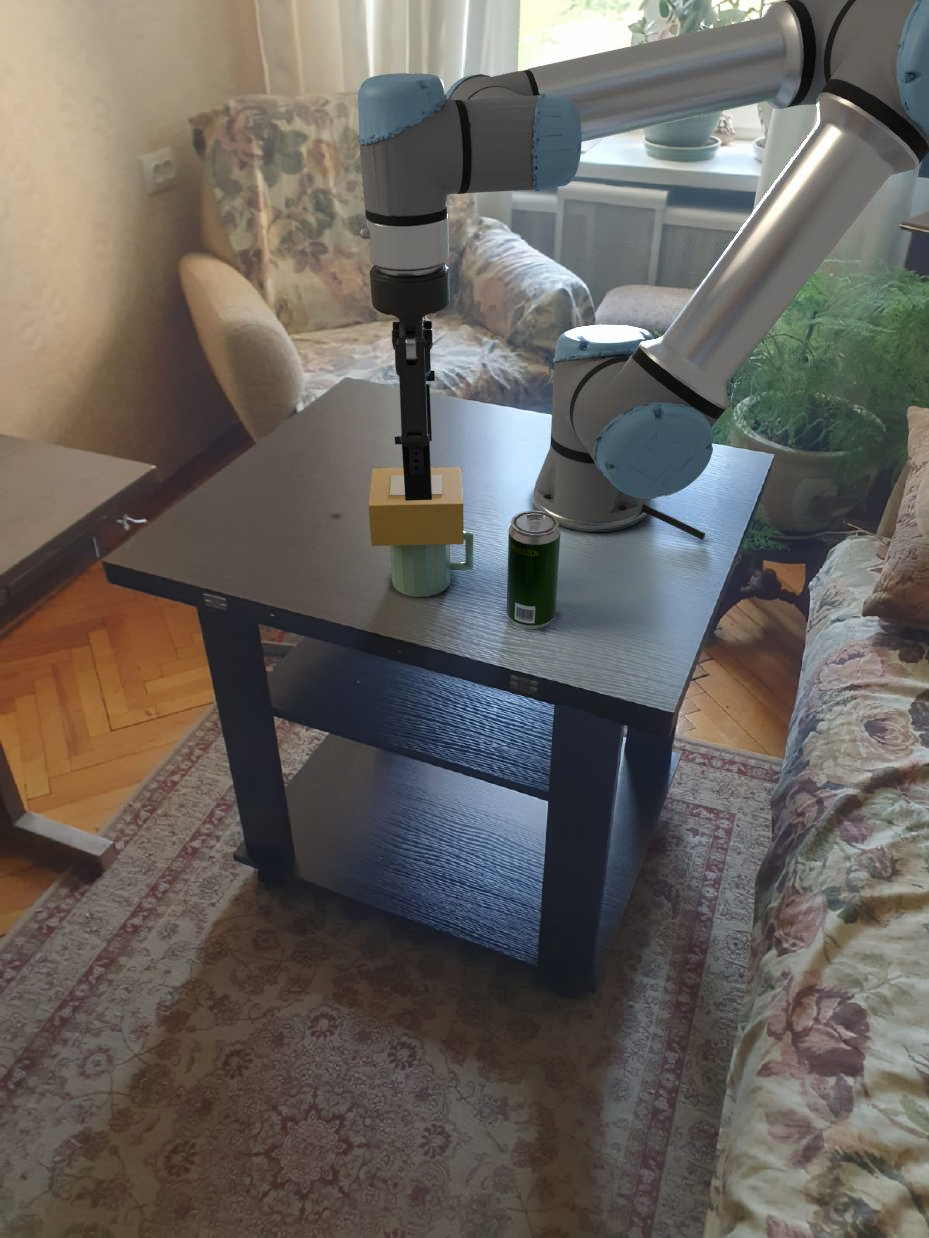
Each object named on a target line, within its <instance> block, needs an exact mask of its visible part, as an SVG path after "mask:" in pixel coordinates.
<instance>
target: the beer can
mask: <svg viewBox="0 0 929 1238" xmlns="http://www.w3.org/2000/svg"><path fill="white" fill-rule="evenodd" d="M560 544H561V528H560V525H559V523H558V520H557V519H556V517H554V516H553V515H551V514H549V513H546V512H542V511H537V510H527V511H522V512H519V513H517V514H515V515H514V516H512V518H511V520H510V526H509V528H508V540H507V577H506V579H507V581H506V615H507V617H508V618H509V620H510V622H511V623H512V624H513V625H514V626H516V627H517V628H520V629H524V630H539V629H543V628H545V627H547V626H549V625H550V624H551V622H552V621H553V619H554V617H555V615H556V612H557V611H556V610H557V593H558V580H559V579H558V578H559V561H560V547H561V546H560Z"/></svg>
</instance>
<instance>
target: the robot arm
mask: <svg viewBox="0 0 929 1238" xmlns="http://www.w3.org/2000/svg"><path fill="white" fill-rule="evenodd" d="M761 103H767V104H768V105H769V106H770V107H772V108H773V109H775V110H783V109H787V108H791V107H797V106H810V105H812V106H814V105H816V110H817V111H816V112H817V114H816V115H817V122H816V124H815V126H814V128H813V129H812V131H811V132H810V133H809V135H807V138H806V139H805V140H804V141H803V143H802V144H801V146H800V147H799V148H798V150H797V151H796V152H795V154H794V155H793V156H792V157H791V159H790V161H789V162H788V163H787V165H786V166H785V168H784V169H783V170H782V172H781V173H780V174H779V176H778V177H777V178H776V180H775V181H774V183H773V184H772V185H771V187H770V188H769V190H768V191H767V193H765V195H764V196H763V198H762V199H761V201H760V202H759V203H758V205H757V206H756V207H755V209H754V210H753V212H751V215H750V216H749V217H748V218H747V220H746V221H745V223H744V224H743V225H742V226H741V228H740V230H739V231H738V233H736V235H735V236H734V238H733V239H732V240H731V242H730V243H729V245H728V246H727V248H725V250H724V251H723V253H722V254H721V256H720V257H719V258H718V260H717V261H716V262H715V264H714V265H713V267H712V268H711V269H710V271H709V272H708V273H707V275H706V276H705V278H704V279H703V280H702V281H701V283H700V284H699V286H698V287H697V288H696V290H695V292H694V293H693V294H692V295H691V297H690V298H689V300H688V301H687V302H686V304H685V305H684V306H683V307H682V309H681V311H680V312H679V313H678V315H677V316H676V317H675V319H674V320H673V322H672V323H671V324H670V326H669V327H668V328H667V330H666V331H665V333H664V334H663V335H662V336H661V337H658V338H656V339H655V337H654V335H653V334H652V333H651V332H650V331H648V330H646V329H644V328H639V327H636V326H630V325H617V324H598V325H597V324H596V325H588V326H587V325H586V326H579V327H575V328H572V329H569V330H567V331H565V332H563V333H562V334H560V335H559V336H558V339H557V340H556V343H555V353H554V357H553V358H552V363H554V365H553V385H552V401H551V402H552V405H551V408H552V409H551V422H550V429H551V430H550V445H549V449H548V450H547V451H548V452H547V454H546V456H545V459H544V462H543V463H542V466H541V469H540V471H539V474H538V476H537V478H536V481H535V484H534V487H533V488H534V489H533V505H534V508H535V509H536V510H535V511H542V512H546V513H549V514H551V515H553V516H554V517H556V519H557V520H558V523H559V527H563V528H566V529H570V530H574V531H575V530H576V531H580V532H581V531H582V532H589V533H591V532H592V533H605V532H614V531H619V530H624V529H626V528H630V527H632V526H634V525H636V524H638V523H641V521H643V520H644V519H645V518H646V517H647V515H649V516H651V517H654V518H655V519H657V520H660V521H662V522H664V523H666V524H668V525H670V526H673V527H675V528H676V529H679V530H681V531H682V532H685V533H686V534H688V535H691V536H692V537H695V538H696V539H699V540H701V541H703V540H704V538H705V537H706V533H705V532H703V530H699V529H698V528H696V527H694V526H691V525H689V524H687V523H685V522H683V521H681V520H680V519H678V518H674V517H672V516H670V515H668V514H666V513H664V512H662V511H660V510H658V509H655V508H653V507H651V502H652V499H653V500H654V499H656V498H659V497H660V498H661V497H668V496H671V495H674V494H677V493H678V492H680V491H682V490H684V489H685V488H687V487H689V486H690V485H691V484H692V483H694V482H695V481H696V480H697V479H698V478H699V477H700V476H701V475H702V474H703V472H704V471H705V470H706V468H707V467H708V465H709V463H710V461H711V458H712V455H713V452H714V446H713V443H714V433H713V430H712V428H713V427H714V425H715V424H716V423H717V421H718V420H719V419H720V418H721V416H722V415H723V414H724V412H725V411H726V410H727V408H728V407H729V402H728V391H727V389H728V384H730V382H731V381H732V379H734V377H735V376H736V374H737V373H738V372H739V371H740V369H741V368H742V366H743V365H744V364H745V362H746V361H747V360H748V359H749V357H750V356H751V355H752V354H753V352H754V351H755V350H756V349H757V347H758V346H759V345H760V343H761V342H762V341H763V339H765V337H766V335H767V334H768V333H769V332H770V331H771V329H772V328H773V327H774V325H775V324H776V323H777V322H778V320H779V319H780V318H781V317H782V315H783V314H784V313H785V312H786V311H787V309H788V307H789V306H790V305H791V303H792V302H793V301H794V300H795V298H797V296H798V294H799V293H800V292H801V290H803V288H804V287H805V286H806V284H807V283H808V282H809V280H810V279H811V278H812V276H813V275H814V274H815V273H816V271H818V269H819V268H820V266H821V265H822V264H823V263H824V261H825V260H826V259H827V257H828V256H829V255H830V254H831V252H832V251H833V250H834V249H835V247H836V246H837V245H838V243H839V242H840V241H841V239H842V238H843V237H844V235H845V234H846V233H847V232H848V230H849V229H850V228H851V226H852V225H854V222H855V221H856V220H857V219H858V218H859V216H860V215H861V214H862V212H863V211H864V210H865V209H866V208H867V206H868V205H869V203H870V202H871V201H872V200H873V198H874V197H875V196H876V195H877V193H878V192H879V191H880V189H881V188H882V187H883V186H884V184H885V183H886V182H887V180H888V179H889V178H890V177H892V176H893V175H897V174H902V173H905V172H910V171H913V170H916V168H917V167H919V165H920V164H921V163H922V161H923V160H924V159H925V158H926V156H927V155H928V154H929V0H781V1H776V2H774V3H773V4H771V5H770V6H769V7H768V8H767V10H766V11H765V12H764V15H763V16H762V17H758V18H754V19H748V20H745V21H740V22H735V23H730V24H726V25H722V26H717V27H713V28H708V29H704V30H703V29H702V30H698V31H695V32H694V31H693V32H690V33H684V34H681V35H676V36H671V37H667V38H661V39H658V40H652V41H649V42H644V43H639V44H634V45H630V46H627V47H626V46H625V47H621V48H616V49H611V50H607V51H602V52H598V53H594V54H589V55H584V56H580V57H575V58H571V59H566V60H562V61H557V62H552V63H548V64H543V65H538V66H535V67H530V68H527V69H523V70H516V71H512V72H507V73H502V74H498V75H493V76H490V75H488V74H483V73H479V74H478V73H477V74H470V75H465V76H463V77H461V78H460V79H458V80H456V81H455V82H454V83H453V84H452V85H451V86H450V87H449V89H448V90H447V91H446V92H445V85H444V81H443V80H442V79H441V78H440V77H439V76H437V75H435V74H431V73H420V72H418V73H417V72H416V73H408V72H400V73H399V72H398V73H387V74H385V73H384V74H379V75H374V76H371V77H368V78H366V79H365V80H364V81H363V82H362V83H361V84H360V87H359V89H358V93H357V109H358V110H357V111H358V113H357V114H358V136H357V138H358V145H359V156H360V167H361V168H360V169H361V180H362V191H363V192H362V193H363V201H364V213H365V219H366V221H365V223H366V226H367V227H364V228H361V229H360V231H359V236H360V238H361V239H363V240H368V243H367V249H368V261H369V263H371V264H372V265H373V266H372V267H371V269H370V270H369V284H370V285H369V286H370V296H371V298H370V299H371V305H372V307H373V308H374V309H375V310H376V311H377V312H379V313H380V314H383V315H386V316H390V315H391V316H393V317H395V318H397V319H398V321H392V325H391V326H392V329H391V345H392V349H393V350H394V368H395V374H396V375H397V376H398V377H399V378H398V379H399V381H398V382H399V405H400V430H401V431H400V433H401V435H400V436H394V445H401V452H402V468H403V471H404V487H405V501H411V500H432V485H431V465H432V464H431V444H430V442H432V441H433V436H432V435H433V432H432V431H433V430H432V409H431V407H432V406H431V389H430V388H431V386H430V383H427V382H436V372H435V370H432V363H431V362H432V359H431V350H432V349H433V345H434V344H433V342H434V341H433V340H434V339H433V320H426V316H427V315H435V314H438V313H439V312H441V311H443V310H444V309H446V308H447V307H448V306H449V304H450V300H451V298H450V297H451V295H450V292H451V291H450V269H449V267H448V266H447V265H446V264H445V263H446V262H447V261H448V260H449V259H450V237H449V235H450V234H449V233H450V232H449V214H448V196H449V195H464V194H477V193H478V194H479V193H495V192H496V193H500V192H519V191H520V192H521V191H534V192H541V191H542V190H546V189H553V188H561V187H565V186H567V185H569V184H570V183H572V181H573V180H574V179H575V177H576V175H577V173H578V170H579V166H580V162H581V155H582V143H584V142H589V141H593V140H597V139H602V138H606V137H611V136H616V135H620V134H625V133H629V132H634V131H639V130H643V129H648V128H652V127H657V126H661V125H665V124H669V123H675V122H679V121H683V120H689V119H693V118H697V117H701V116H707V115H711V114H715V113H720V112H724V111H729V110H734V109H737V108H742V107H746V106H747V107H748V106H751V105H756V104H761Z"/></svg>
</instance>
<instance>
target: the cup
mask: <svg viewBox="0 0 929 1238" xmlns="http://www.w3.org/2000/svg"><path fill="white" fill-rule="evenodd" d="M464 544H465V545H464V546H465V547H464V550H465V553H464V556H465V559H464V560H465V561H464V562H451V544H444V545H394V546H389V557H390V570H391V571H390V572H391V582H392V586H393V588H394V589H395V590H396V591H397V592H399V594H403V595H405V596H408V597H414V598H427V597H432V596H436V595H438V594H441V593H443V592H444V591H445V590H446V589H448V587H449V586H450V584H451V581H452V580H451V577H452V576H451V575H452V574H451V571H471V570H473V568H474V533H473V532H472V531H464Z"/></svg>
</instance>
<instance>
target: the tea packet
mask: <svg viewBox="0 0 929 1238" xmlns="http://www.w3.org/2000/svg"><path fill="white" fill-rule="evenodd" d="M462 472H463V469H462V467H461V466H437V467H436V466H435V467H434V466H433V467H431V485H432V500H411V501H405V487H404V471H403V467H385V468H384V467H383V468H382V467H381V468H380V467H379V468H378V467H377V468H376V467H375V468H374V467H373V468H372V470H371V478H370V487H369V496H368V505H367V506H368V517H369V518H368V519H369V532H370V545H371V547H384V546H385V547H386V546H387V547H388V546H389V547H390V546H394V545H444V544H450V545H464V544H465V540H464V532H465V530H464V527H465V526H464V493H463V492H464V490H463V475H462V474H463V473H462Z"/></svg>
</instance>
